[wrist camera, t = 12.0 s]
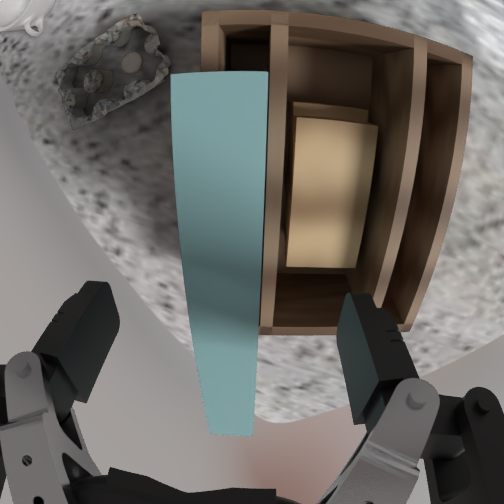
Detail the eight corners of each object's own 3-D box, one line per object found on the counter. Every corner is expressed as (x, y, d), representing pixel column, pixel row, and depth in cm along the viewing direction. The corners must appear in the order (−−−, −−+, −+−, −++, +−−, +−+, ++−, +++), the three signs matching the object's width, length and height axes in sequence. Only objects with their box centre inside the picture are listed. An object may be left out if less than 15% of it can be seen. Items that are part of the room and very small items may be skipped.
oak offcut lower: (290, 101, 23) (293, 102, 21) (358, 108, 23) (368, 110, 21) (283, 229, 29) (285, 241, 27) (343, 231, 29) (350, 243, 27)
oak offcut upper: (293, 114, 22) (296, 117, 19) (367, 122, 21) (378, 126, 19) (284, 251, 28) (286, 266, 25) (348, 253, 27) (355, 268, 25)
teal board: (238, 86, 23) (170, 74, 5) (262, 87, 23) (268, 71, 5) (237, 236, 30) (209, 433, 12) (257, 236, 30) (252, 435, 12)
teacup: (12, 5, 17) (-17, 2, 12) (58, -38, 15) (31, -49, 10) (31, 59, 21) (-1, 61, 16) (81, 14, 19) (51, 7, 15)
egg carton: (156, 16, 21) (140, 7, 17) (180, 82, 24) (168, 81, 20) (66, 68, 22) (43, 69, 19) (88, 128, 26) (67, 135, 22)
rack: (221, 36, 22) (202, 11, 13) (414, 59, 21) (472, 56, 13) (223, 271, 34) (212, 332, 25) (380, 274, 33) (409, 331, 25)
